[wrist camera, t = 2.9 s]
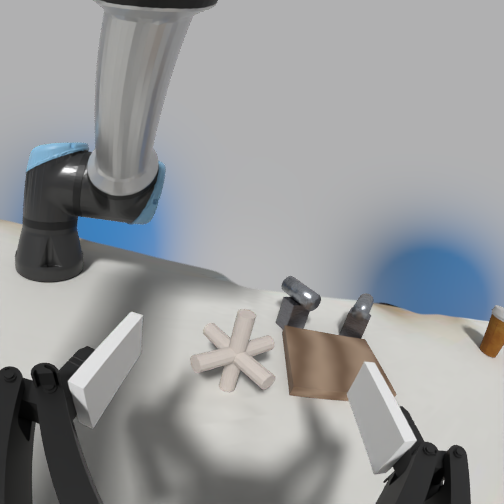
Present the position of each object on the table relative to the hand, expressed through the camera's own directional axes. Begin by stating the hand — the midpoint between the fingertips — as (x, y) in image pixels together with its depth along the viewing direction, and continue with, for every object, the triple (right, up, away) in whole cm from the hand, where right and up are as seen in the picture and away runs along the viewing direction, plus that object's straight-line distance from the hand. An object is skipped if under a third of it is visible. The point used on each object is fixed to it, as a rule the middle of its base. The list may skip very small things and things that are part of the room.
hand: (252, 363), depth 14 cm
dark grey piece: (+18, -10, +32) cm, 38 cm away
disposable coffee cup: (+63, -21, +33) cm, 74 cm away
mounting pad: (+12, -11, +22) cm, 27 cm away
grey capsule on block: (+6, -7, +32) cm, 34 cm away
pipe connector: (-3, -9, +14) cm, 17 cm away
